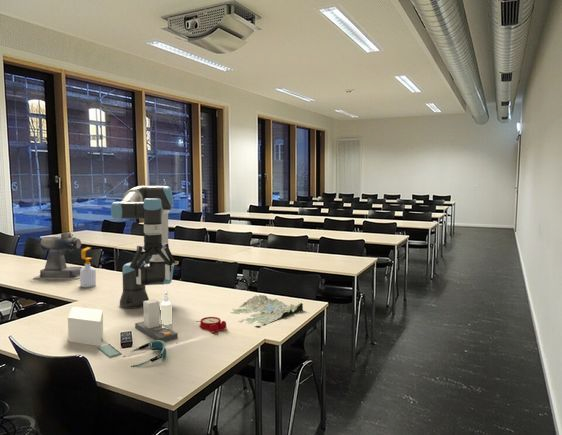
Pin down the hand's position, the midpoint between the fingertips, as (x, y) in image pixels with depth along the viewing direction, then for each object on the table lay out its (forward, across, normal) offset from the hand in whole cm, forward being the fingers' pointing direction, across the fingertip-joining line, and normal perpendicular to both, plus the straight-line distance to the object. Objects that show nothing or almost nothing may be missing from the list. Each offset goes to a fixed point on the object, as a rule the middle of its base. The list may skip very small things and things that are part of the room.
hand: (153, 281), depth 184 cm
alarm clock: (+23, +22, -14) cm, 35 cm away
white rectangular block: (+23, -24, +14) cm, 36 cm away
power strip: (+23, -1, -1) cm, 23 cm away
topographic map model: (+24, +54, -10) cm, 60 cm away
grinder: (+23, +4, +144) cm, 146 cm away
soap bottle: (+23, +8, +105) cm, 108 cm away
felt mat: (+23, -19, -8) cm, 31 cm away
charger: (+22, -1, 0) cm, 22 cm away
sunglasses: (+24, -15, -23) cm, 36 cm away
